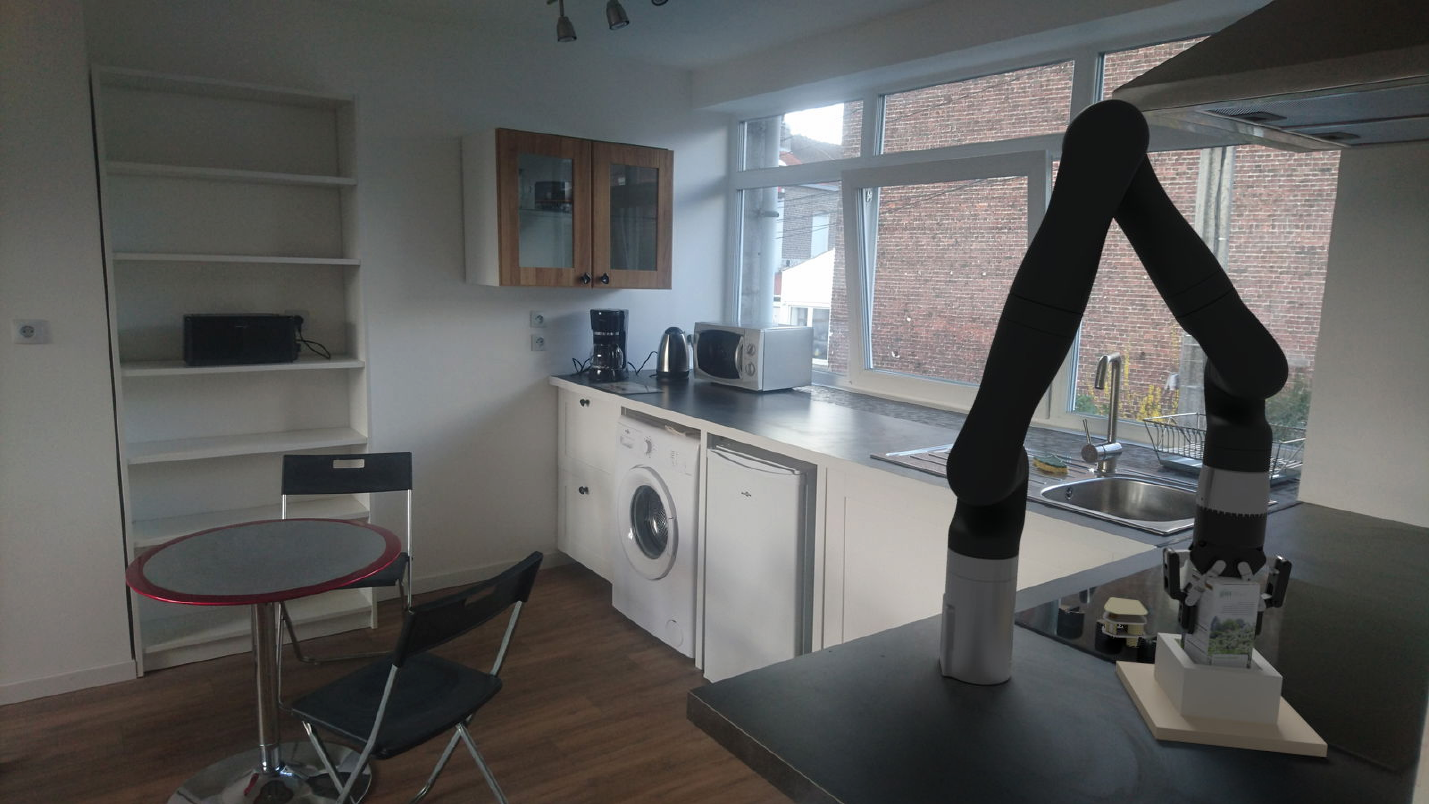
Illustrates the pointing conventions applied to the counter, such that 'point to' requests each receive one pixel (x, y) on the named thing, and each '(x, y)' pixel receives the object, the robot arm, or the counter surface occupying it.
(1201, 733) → the sleeve
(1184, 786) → the counter surface
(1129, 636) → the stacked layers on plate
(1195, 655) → the syrup box
